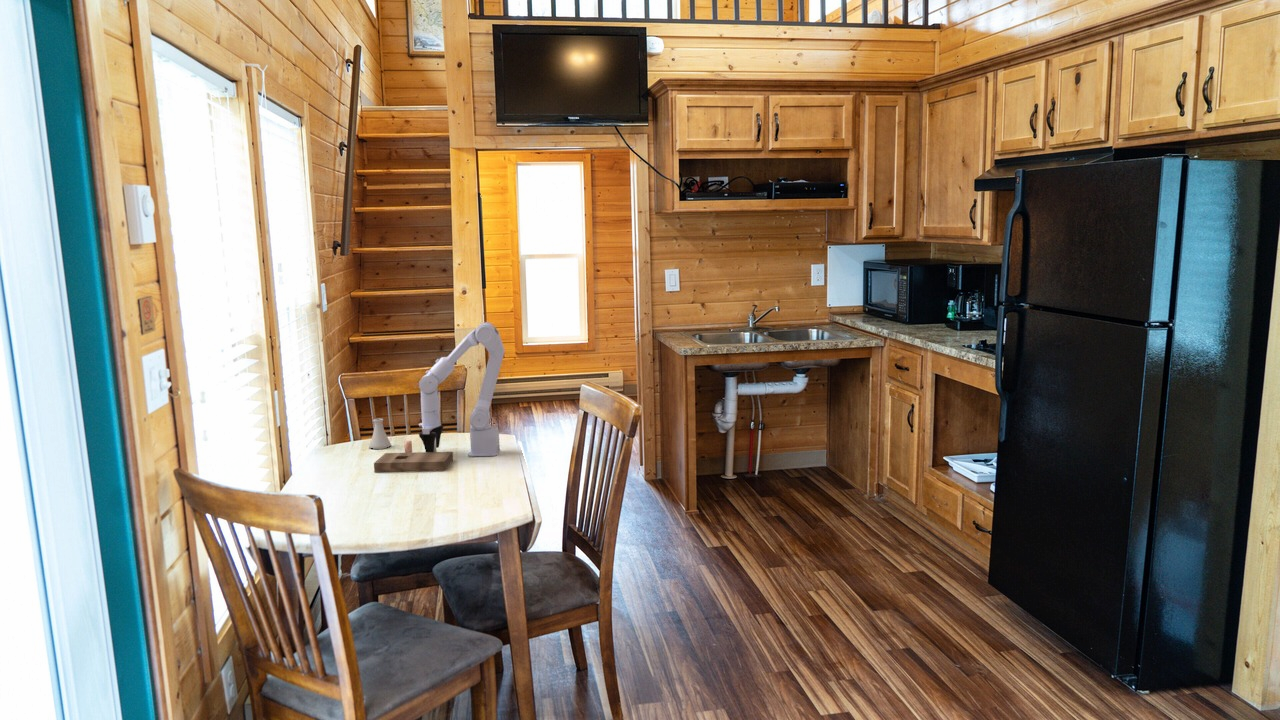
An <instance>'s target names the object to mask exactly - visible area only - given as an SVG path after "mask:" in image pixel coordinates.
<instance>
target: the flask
mask: <svg viewBox="0 0 1280 720" xmlns="http://www.w3.org/2000/svg"><path fill="white" fill-rule="evenodd" d="M372 421H373V424H374V428H373V433H372V436H371V440H370V444H369V446H368V449H371V448H373V449H372V450H383V449H388V448H390V447H391V446H392V443H391V442H390V439H389V438H388V435H387V433H386V431H385V428H384V425H383V424H384V423H383V421H384V418H375V419H372ZM390 445H391V446H390ZM389 446H390V447H389ZM387 447H388V448H387Z"/></svg>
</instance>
